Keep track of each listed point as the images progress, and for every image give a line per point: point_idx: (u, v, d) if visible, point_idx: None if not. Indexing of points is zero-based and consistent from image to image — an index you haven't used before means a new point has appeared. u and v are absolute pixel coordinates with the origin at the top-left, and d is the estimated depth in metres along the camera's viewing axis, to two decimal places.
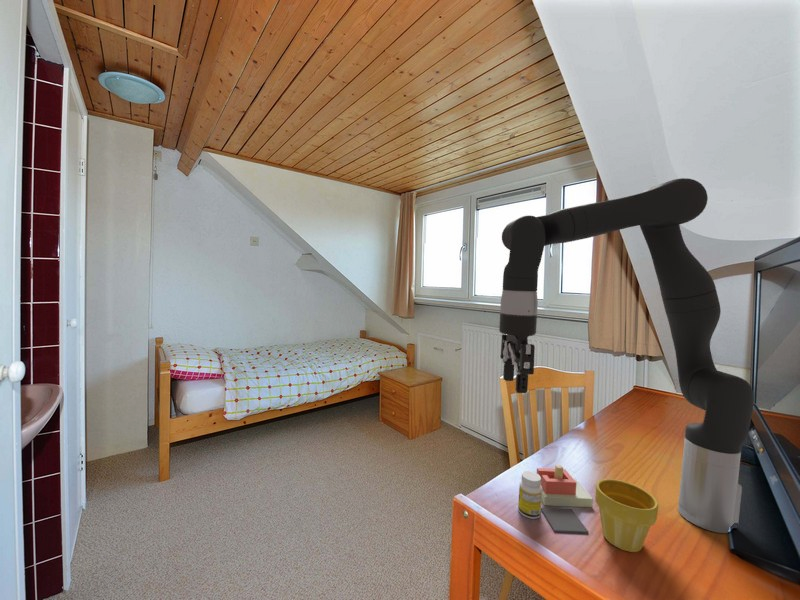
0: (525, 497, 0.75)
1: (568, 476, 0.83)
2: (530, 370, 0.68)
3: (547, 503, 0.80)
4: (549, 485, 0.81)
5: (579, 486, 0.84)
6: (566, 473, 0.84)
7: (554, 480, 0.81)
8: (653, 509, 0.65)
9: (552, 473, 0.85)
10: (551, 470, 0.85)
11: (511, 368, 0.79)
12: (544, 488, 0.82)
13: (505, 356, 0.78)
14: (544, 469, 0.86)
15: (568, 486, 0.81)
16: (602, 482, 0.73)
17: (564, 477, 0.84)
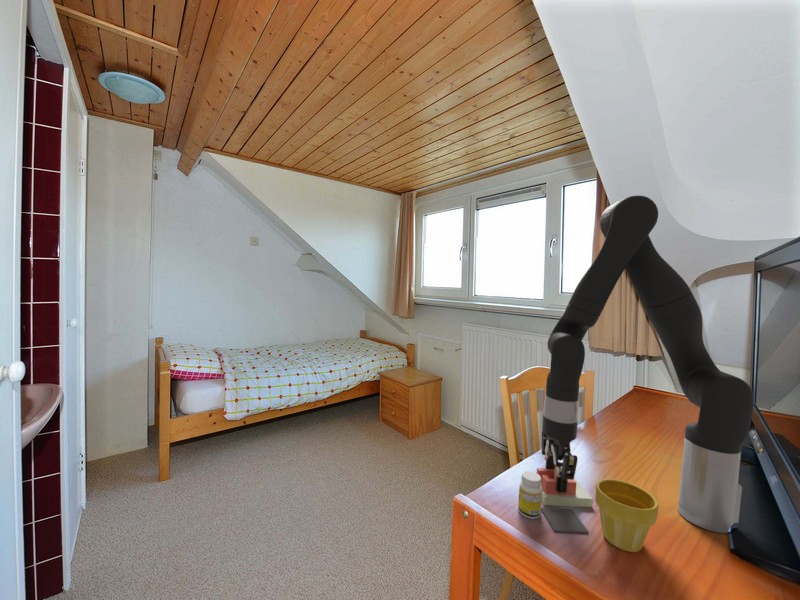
0: (525, 497, 0.75)
1: None
2: (571, 475, 0.78)
3: (547, 503, 0.80)
4: (549, 485, 0.81)
5: (579, 486, 0.84)
6: None
7: (554, 480, 0.81)
8: (653, 509, 0.65)
9: (552, 473, 0.85)
10: (551, 470, 0.85)
11: (553, 466, 0.86)
12: (544, 488, 0.82)
13: (547, 454, 0.85)
14: (544, 469, 0.86)
15: (568, 486, 0.81)
16: (602, 482, 0.73)
17: None
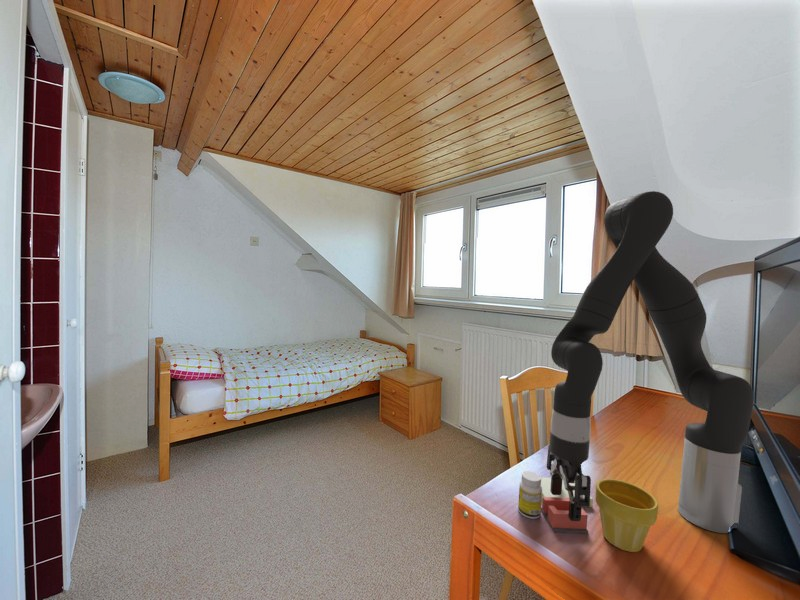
0: (525, 497, 0.75)
1: None
2: (586, 502, 0.67)
3: None
4: (557, 518, 0.72)
5: None
6: None
7: (562, 512, 0.72)
8: (653, 509, 0.65)
9: (560, 503, 0.76)
10: (559, 499, 0.77)
11: (559, 482, 0.78)
12: (551, 521, 0.73)
13: (554, 472, 0.77)
14: (551, 498, 0.77)
15: None
16: (602, 482, 0.73)
17: None
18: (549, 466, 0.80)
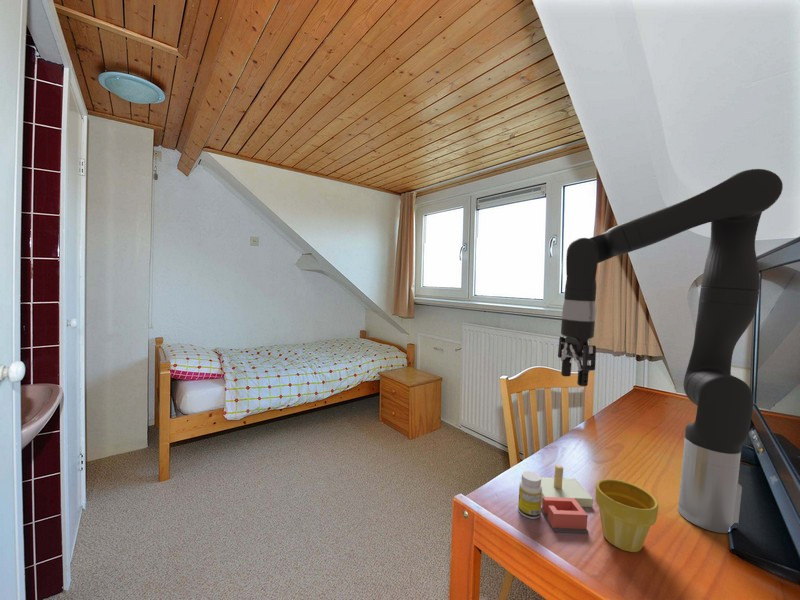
0: (525, 497, 0.75)
1: (578, 507, 0.74)
2: (592, 366, 0.82)
3: None
4: (557, 518, 0.72)
5: (579, 486, 0.84)
6: (575, 503, 0.75)
7: (562, 512, 0.72)
8: (653, 509, 0.65)
9: (560, 503, 0.76)
10: (559, 499, 0.77)
11: (568, 365, 0.93)
12: (551, 521, 0.73)
13: (564, 355, 0.92)
14: (551, 498, 0.77)
15: (578, 519, 0.72)
16: (602, 482, 0.73)
17: (573, 508, 0.75)
18: (560, 354, 0.95)
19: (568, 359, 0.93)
